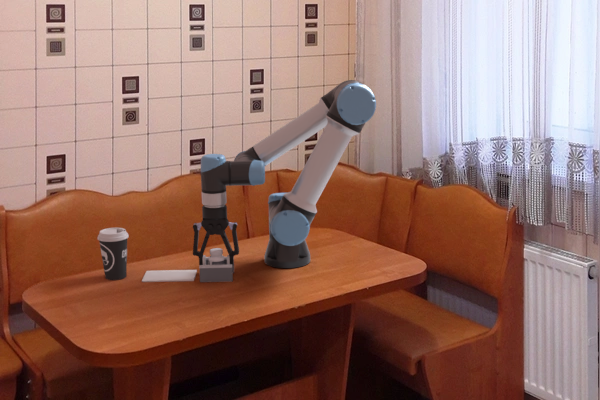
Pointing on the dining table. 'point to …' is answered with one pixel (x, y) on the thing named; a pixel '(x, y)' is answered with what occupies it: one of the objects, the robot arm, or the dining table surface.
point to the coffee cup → (114, 252)
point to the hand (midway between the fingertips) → (216, 276)
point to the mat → (169, 275)
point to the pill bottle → (216, 257)
